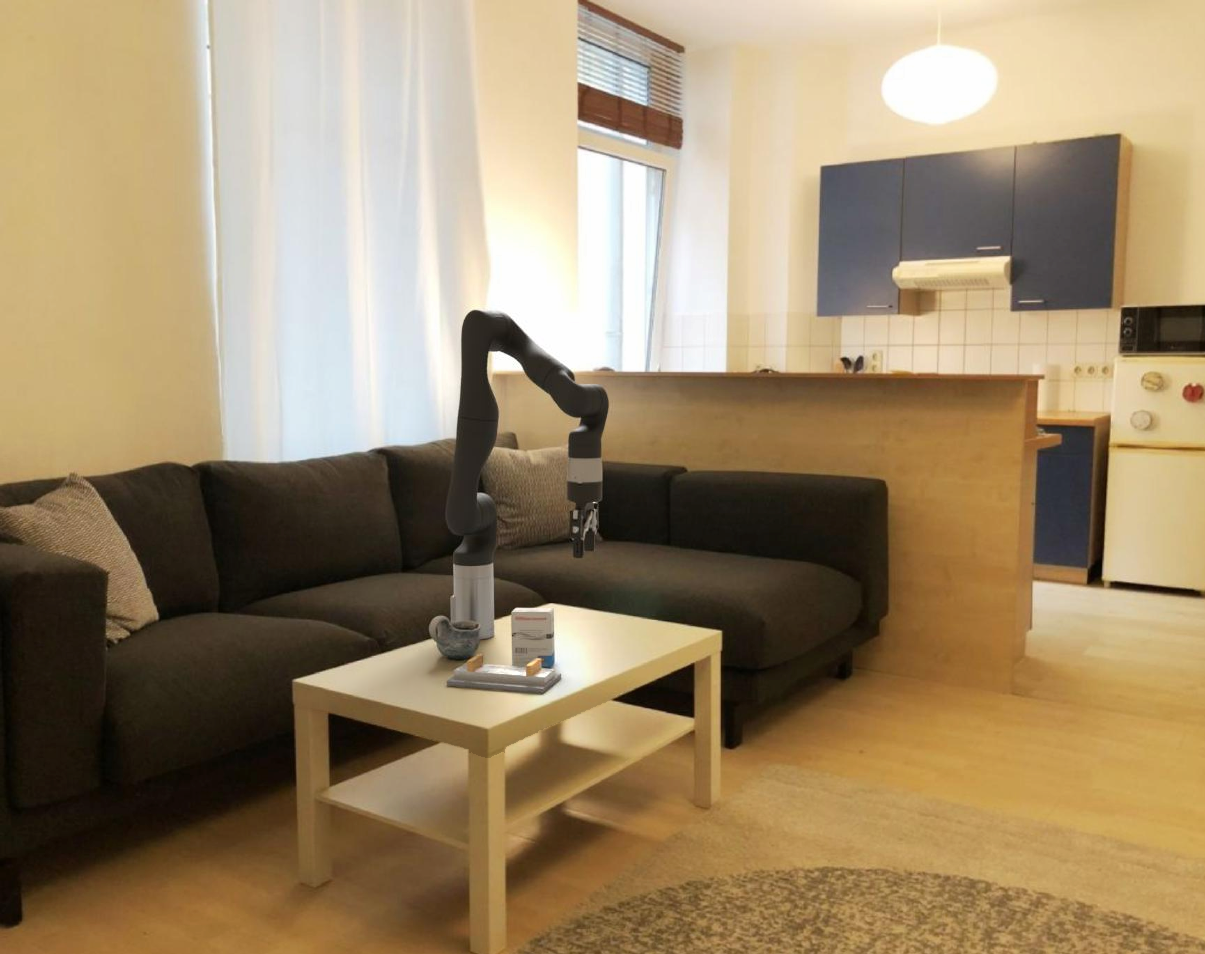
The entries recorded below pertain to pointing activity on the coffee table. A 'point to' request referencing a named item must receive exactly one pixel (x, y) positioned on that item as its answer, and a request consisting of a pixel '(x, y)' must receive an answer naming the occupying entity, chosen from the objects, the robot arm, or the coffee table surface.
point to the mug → (455, 637)
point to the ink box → (532, 636)
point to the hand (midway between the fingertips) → (584, 554)
